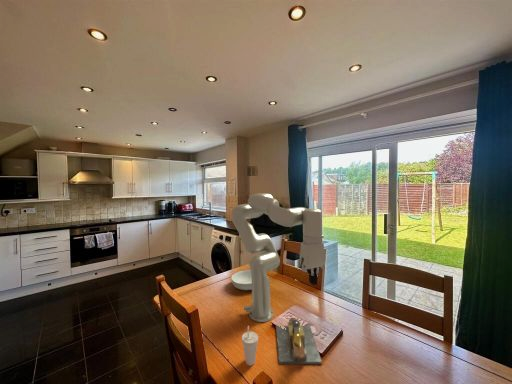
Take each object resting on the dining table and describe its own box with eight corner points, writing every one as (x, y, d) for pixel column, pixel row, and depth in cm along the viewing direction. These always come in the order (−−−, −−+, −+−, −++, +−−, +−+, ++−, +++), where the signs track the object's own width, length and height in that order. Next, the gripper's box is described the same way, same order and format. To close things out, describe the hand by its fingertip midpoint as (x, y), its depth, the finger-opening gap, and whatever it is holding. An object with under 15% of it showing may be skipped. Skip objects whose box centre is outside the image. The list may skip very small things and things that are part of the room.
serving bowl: (235, 278, 152) (235, 269, 152) (264, 280, 149) (263, 270, 149) (227, 293, 132) (227, 282, 132) (260, 295, 129) (260, 284, 129)
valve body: (279, 363, 79) (279, 348, 79) (276, 327, 99) (275, 315, 99) (321, 364, 78) (321, 348, 78) (309, 327, 98) (309, 315, 98)
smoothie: (242, 355, 83) (241, 321, 83) (258, 354, 84) (257, 320, 83) (242, 369, 77) (241, 332, 77) (259, 367, 78) (258, 331, 77)
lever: (292, 326, 90) (292, 316, 90) (299, 327, 90) (299, 316, 90) (293, 348, 78) (293, 336, 78) (301, 349, 78) (301, 337, 78)
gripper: (321, 235, 91) (321, 276, 92) (291, 239, 86) (292, 283, 86) (333, 239, 85) (333, 283, 85) (302, 244, 79) (303, 291, 79)
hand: (313, 283), depth 86 cm, fingers closed
